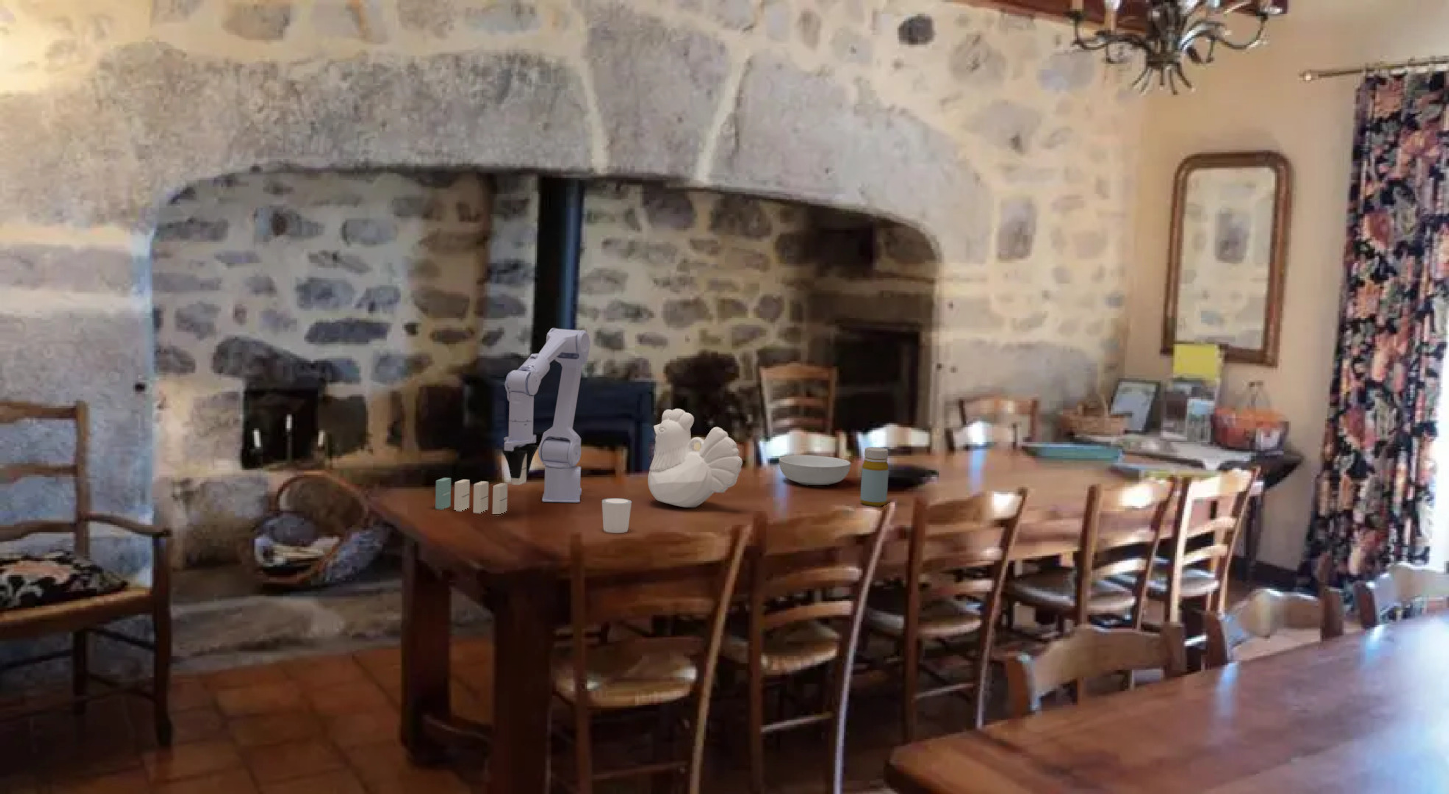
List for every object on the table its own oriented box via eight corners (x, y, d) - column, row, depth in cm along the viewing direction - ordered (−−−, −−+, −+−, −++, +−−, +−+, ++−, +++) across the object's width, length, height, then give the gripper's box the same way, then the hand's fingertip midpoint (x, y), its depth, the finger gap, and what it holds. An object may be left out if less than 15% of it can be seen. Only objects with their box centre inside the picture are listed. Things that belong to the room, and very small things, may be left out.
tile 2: (469, 508, 293) (469, 480, 293) (461, 511, 289) (461, 483, 288) (462, 507, 294) (462, 479, 293) (454, 510, 290) (454, 482, 289)
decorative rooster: (634, 503, 307) (637, 408, 304) (672, 495, 320) (676, 403, 317) (711, 520, 292) (716, 419, 289) (748, 510, 305) (753, 414, 302)
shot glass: (601, 526, 280) (602, 497, 279) (630, 527, 281) (631, 498, 280) (600, 533, 273) (601, 503, 272) (630, 534, 274) (631, 504, 273)
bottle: (888, 503, 323) (892, 448, 321) (883, 507, 316) (886, 452, 315) (863, 500, 325) (866, 446, 324) (857, 504, 319) (860, 449, 317)
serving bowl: (861, 483, 350) (862, 460, 350) (828, 493, 333) (829, 469, 332) (799, 474, 361) (800, 451, 361) (764, 483, 344) (765, 459, 343)
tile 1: (450, 506, 294) (451, 478, 294) (442, 509, 290) (443, 481, 289) (443, 505, 295) (444, 477, 294) (435, 508, 291) (435, 480, 290)
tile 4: (507, 511, 291) (507, 483, 290) (499, 515, 287) (500, 486, 286) (500, 511, 292) (500, 482, 291) (492, 514, 287) (493, 486, 286)
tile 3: (488, 509, 292) (488, 481, 291) (480, 513, 288) (481, 485, 287) (481, 509, 293) (481, 481, 292) (473, 512, 288) (473, 484, 288)
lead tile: (526, 482, 289) (527, 453, 288) (519, 485, 285) (519, 456, 284) (519, 481, 290) (519, 452, 289) (511, 484, 285) (512, 455, 285)
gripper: (517, 415, 294) (516, 470, 295) (492, 422, 280) (491, 479, 281) (544, 417, 292) (542, 472, 293) (520, 425, 278) (519, 482, 279)
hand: (519, 476), depth 287 cm, fingers closed on lead tile, 4 cm apart
